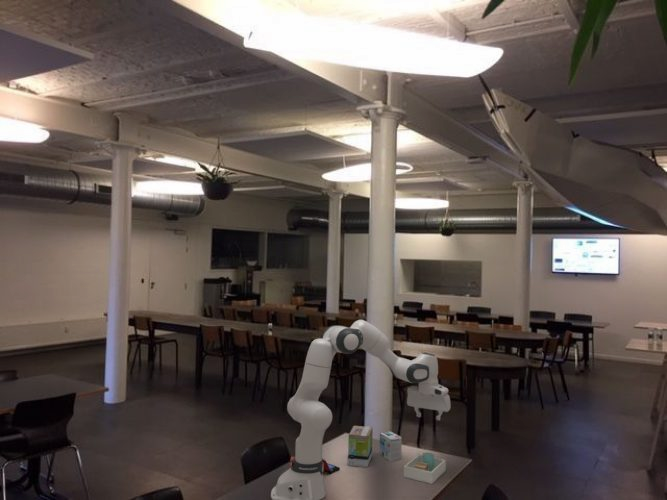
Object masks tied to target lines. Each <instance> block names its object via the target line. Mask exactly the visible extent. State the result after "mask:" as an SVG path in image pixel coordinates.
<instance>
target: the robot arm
mask: <svg viewBox="0 0 667 500" xmlns="http://www.w3.org/2000/svg"><path fill="white" fill-rule="evenodd" d="M389 346H390V340H389V338H388V336H387V335H386V334H385V333H383V332H382V331H381V330H380V329H379V328H377V327H376V326H375V325H373V324H371V323H370V322H368V321H366V320H364V319H358V320H355V321H354V322H353V323H352V324H351V326H350V327H347V326H344V325H337V324H336V325H331V326H328V327H326V329H325V330H324V331H323V333H322V335H321V336H320V337H319V338H315V339H314V340H313V341H311V343H310V345H309V347H308V350H307V354H306V357H305V362H304V366H303V372H302V377H301V381H300V383H299V385H298V388H297V390H296V393H295V394H294V395H293V396H292V397H290V398H289V401H288V402H287V406H286V407H287V408H286V409H287V413H288V414H289V415H290V417H291V418H292V419H293V420H294V421H295V422H298V423H300V425H301V429H300V433H299V436H298V437H297V438H296V439H295V447H294V448H295V456H291V457H290V465H289V468H288V469H287V470H285V471H284V472H283V473H282V474H281V475H280V476H279V477H278V479H277V483H276V485H274V487H273V488H272V489H271V492H270V498H271V500H322V499H323V498H324V497H326V495H327V492H326V488H325V484H324V477H323V476H324V475H323V473H324V472H323V459H324V458H323V442H324V441H323V440H324V436H325V432H326V430H327V429H328V428H329V427H330V426H331V424H332V422H333V413H332V410H331V409H330V408H329V407H328V406H327V405H326V404H325V403H324V402H321V401H319V399H320V396H321V394H322V392H323V391H324V390H325V389H327V387H328V384H329V381H330V374H331V370H332V364H333V363H332V362H333V359H334V357H335V355H336V354H337V353H340V354H341V353H342V354H347V355H349V354H353V353H355V352H356V351H357V350H359V348H361V349H363V351H365V352H366V353H367V354H370V355H371V356H373V357H375V358H378V359H379V360H380V361H381V362H383V363H384V364H385V365H386V366H387V367H388V369H389V370H390V372H391V374H392V375H393V377H395V378H396V379H399V380H402V381H405V382H408V383H410V384H418V386H417V385H416V386H415V385H410V386H408V387H407V390H406V391H407V397H406V398H407V399H406V404H407V406H408V407H413V408H414V412H415V413H416V417H417V418H421V417H422V412H420V410H419V409H426V410H430V411H431V410H432V411H433V410H434V411H437V413H438V414H437V415H435V420H436V421H441V416H442V414H443V412H445V413H448V412H449V411H450V410H451V407H452V406H451V404H452V403H451V398H450V397H451V396H450V395H449V394H448V393H449V389H448V388H447V387H446V386H444V385H441V384H439V379H438V375H439V363H438V361H439V360H438V358H437V356H436V355H435V354H433V353H428V352H420V354H419V355H417V357H416V358H413V359H412V360H410V359H407V358H405V357H403V356H398V355H397V354H395V353H394V352H393V351H392V350H391V349H390V347H389Z"/></svg>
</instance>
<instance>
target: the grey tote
mask: <svg viewBox="0 0 667 500" xmlns="http://www.w3.org/2000/svg"><path fill="white" fill-rule="evenodd" d="M418 462H422V463H423V454H418V455H416V456H415V457H413V459H411V460H410V461H408V462H407V463H406V464H405V465H404V466H403V478H404V479H408V480H412V481H416V482H421V483H424V482H425V483H426V484H428V483H429V485H433V484H434V483H435V482H436V481H437V480H438V479H439V478H441V477H442V475H443V474H444V473H446V470H447V466H446V465H447V460H446V459H442V458H437V457H434V470H433V471H432V472H429V471H425V470H421V469H416V468H414V465H415V464H416V463H418ZM425 483H424V484H425Z"/></svg>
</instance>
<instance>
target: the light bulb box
mask: <svg viewBox="0 0 667 500" xmlns="http://www.w3.org/2000/svg"><path fill="white" fill-rule="evenodd" d="M402 439H403V438H402V436H400V435H398V434H397V433H394V431H393V432H392V431H385V432H380V433H379V455H380V456H382V457H383V458H385V459H386V460H388V461H389V462H394V461H401V460H402V457H403V456H402V453H403V449H402V447H403V445H402V443H403V440H402Z"/></svg>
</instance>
